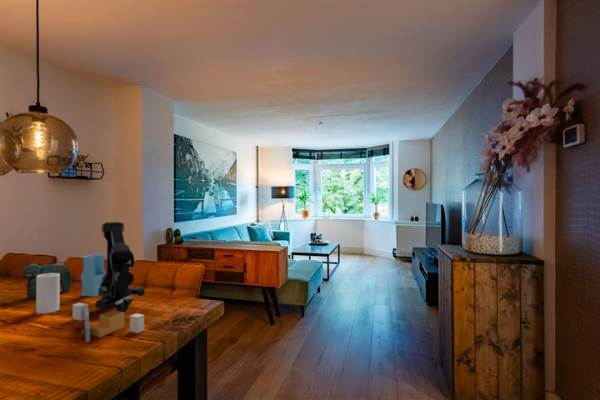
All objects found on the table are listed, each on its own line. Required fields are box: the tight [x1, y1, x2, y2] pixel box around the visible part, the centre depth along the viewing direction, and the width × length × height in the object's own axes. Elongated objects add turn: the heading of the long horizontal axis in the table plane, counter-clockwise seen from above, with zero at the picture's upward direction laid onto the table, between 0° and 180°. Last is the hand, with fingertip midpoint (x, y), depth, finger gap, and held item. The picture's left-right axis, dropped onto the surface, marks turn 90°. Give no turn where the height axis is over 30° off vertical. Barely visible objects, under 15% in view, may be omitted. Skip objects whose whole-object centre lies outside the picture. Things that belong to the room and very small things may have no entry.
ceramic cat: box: [23, 256, 72, 300], centre depth 168 cm, size 20×6×20 cm, turn 139°
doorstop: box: [90, 309, 125, 338], centre depth 125 cm, size 10×6×6 cm, turn 156°
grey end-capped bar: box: [81, 306, 91, 343], centre depth 124 cm, size 2×26×5 cm, turn 35°
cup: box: [35, 273, 61, 315], centre depth 145 cm, size 8×8×16 cm
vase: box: [80, 254, 107, 297], centre depth 170 cm, size 8×8×20 cm
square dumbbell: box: [72, 302, 145, 334], centre depth 131 cm, size 3×36×6 cm, turn 69°
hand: (121, 318), depth 132 cm, fingers closed
